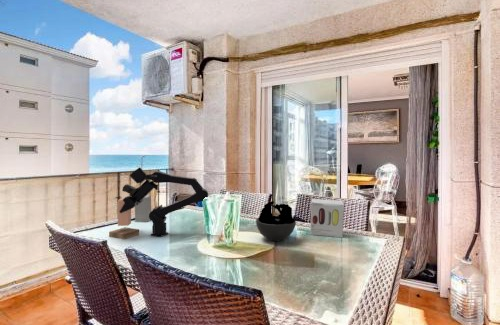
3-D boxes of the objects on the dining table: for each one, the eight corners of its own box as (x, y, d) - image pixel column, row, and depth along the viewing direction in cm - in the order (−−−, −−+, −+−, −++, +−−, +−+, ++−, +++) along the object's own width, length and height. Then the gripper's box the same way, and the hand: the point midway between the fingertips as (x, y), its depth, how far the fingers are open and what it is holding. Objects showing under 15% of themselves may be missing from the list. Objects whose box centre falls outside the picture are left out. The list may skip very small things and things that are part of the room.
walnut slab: (139, 235, 147) (139, 229, 147) (123, 240, 138) (123, 234, 138) (125, 232, 151) (125, 227, 151) (109, 237, 142) (109, 231, 142)
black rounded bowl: (294, 247, 130) (295, 207, 130) (252, 244, 134) (252, 205, 134) (296, 236, 150) (296, 201, 149) (259, 233, 154) (259, 199, 153)
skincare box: (151, 219, 180) (152, 195, 180) (146, 222, 173) (147, 196, 173) (139, 219, 181) (139, 194, 181) (133, 221, 174) (134, 196, 174)
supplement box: (310, 235, 152) (310, 202, 152) (310, 229, 165) (311, 198, 165) (343, 237, 148) (344, 203, 148) (341, 231, 161) (342, 200, 161)
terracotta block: (131, 223, 148) (131, 198, 147) (128, 225, 143) (128, 200, 142) (121, 223, 147) (121, 198, 147) (117, 225, 142) (117, 200, 142)
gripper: (137, 177, 154) (116, 197, 153) (127, 180, 136) (103, 203, 134) (152, 191, 155) (131, 211, 154) (144, 196, 137) (120, 219, 136)
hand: (121, 211), depth 145 cm, fingers closed on terracotta block, 5 cm apart
